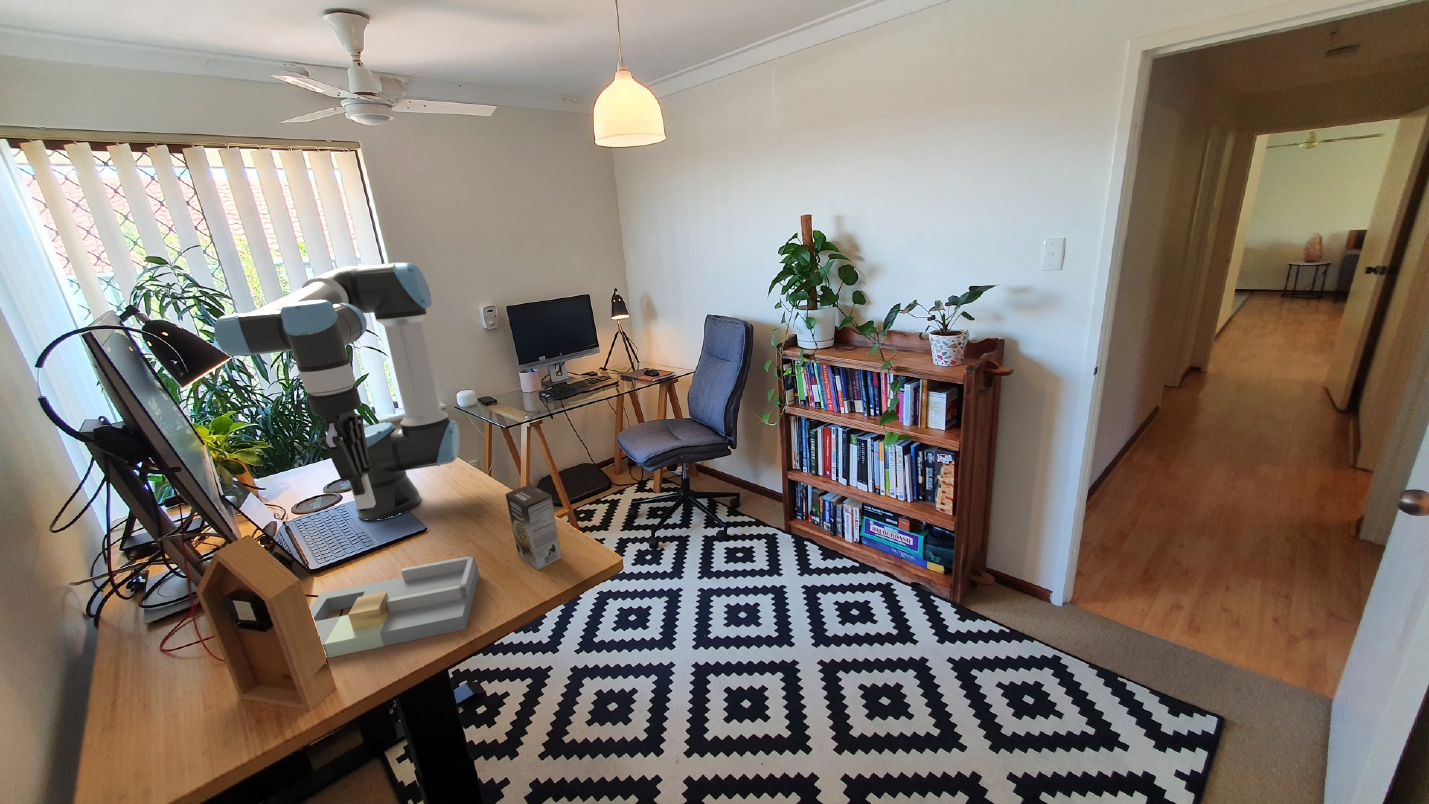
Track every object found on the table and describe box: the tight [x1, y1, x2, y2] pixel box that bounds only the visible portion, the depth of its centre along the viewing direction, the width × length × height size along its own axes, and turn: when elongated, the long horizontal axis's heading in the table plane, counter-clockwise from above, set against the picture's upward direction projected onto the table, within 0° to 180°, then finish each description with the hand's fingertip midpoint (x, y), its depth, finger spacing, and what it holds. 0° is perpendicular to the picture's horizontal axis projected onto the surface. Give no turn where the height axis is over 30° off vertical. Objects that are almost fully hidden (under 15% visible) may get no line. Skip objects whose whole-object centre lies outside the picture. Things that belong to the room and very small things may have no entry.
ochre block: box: [347, 592, 389, 630], centre depth 102 cm, size 5×5×4 cm
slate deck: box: [310, 554, 480, 659], centre depth 106 cm, size 17×30×6 cm, turn 104°
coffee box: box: [504, 483, 562, 571], centre depth 121 cm, size 9×6×16 cm
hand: (366, 506), depth 104 cm, fingers closed
